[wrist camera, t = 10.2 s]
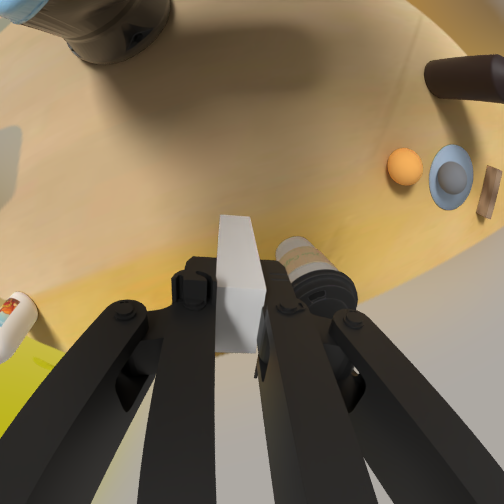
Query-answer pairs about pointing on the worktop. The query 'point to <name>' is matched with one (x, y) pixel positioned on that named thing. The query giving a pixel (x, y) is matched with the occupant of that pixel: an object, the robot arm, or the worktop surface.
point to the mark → (438, 194)
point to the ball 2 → (452, 178)
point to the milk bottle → (15, 323)
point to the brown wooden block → (489, 192)
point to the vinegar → (467, 78)
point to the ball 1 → (405, 166)
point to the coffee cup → (316, 278)
